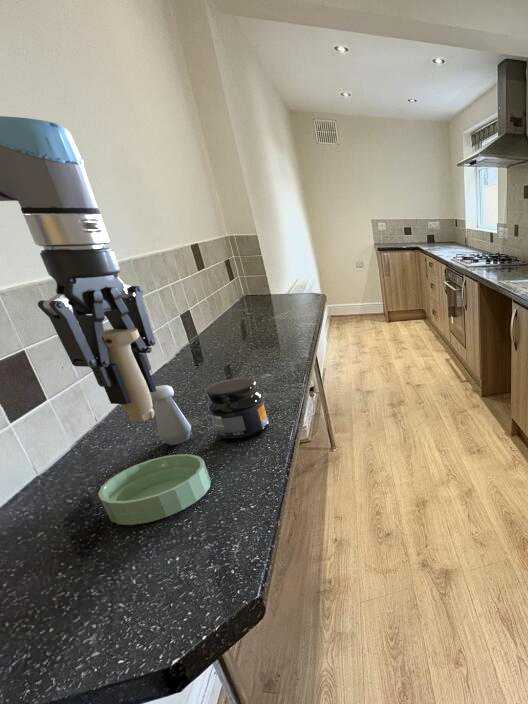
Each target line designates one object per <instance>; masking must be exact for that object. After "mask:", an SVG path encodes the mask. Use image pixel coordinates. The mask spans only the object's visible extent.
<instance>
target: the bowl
mask: <svg viewBox="0 0 528 704" xmlns="http://www.w3.org/2000/svg"><path fill="white" fill-rule="evenodd" d="M211 482H212V480H211V477H210V474H209V472H208V469H207V466H206V462H205V461H204V459H203V458H202V457H201V456H199V455H195V454H190V453H189V454H188V453H177V454H170V455H163V456H160V457H156V458H152V459H149V460H146V461H143V462H140V463H137V464H135V465H133V466H130V467H128V468H126V469H124V470H122V471H120V472H118V473H117V474H115V475H114V476H112V477H110V478H109V479H108V480H107V481H105V482H104V483H103V485H101V487H100V489H99V490H98V493H97V496H98V498H99V499H100V502H101V504H102V506H103V508H104V510H105V513H106V514H107V516H108V518H109V520H110V522H112V523H115V524H116V525H124V526H134V525H142V524H146V523H151V522H155V521H159V520H162V519H165V518H168V517H170V516H172V515H175V514H177V513H179V512H181V511H184V510H185V509H187V508H188V507H191V506H193V505H194V504H195V503H197V502H198V501H199V500H200V499H202V498H203V497H204V496H205V495H206V494H207V492H208V491H209V489H210V488H211V486H212V485H211Z"/></svg>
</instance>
